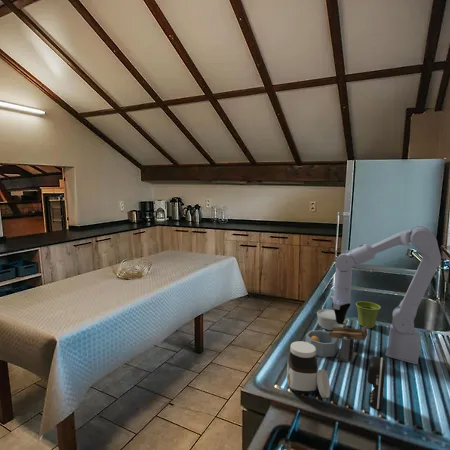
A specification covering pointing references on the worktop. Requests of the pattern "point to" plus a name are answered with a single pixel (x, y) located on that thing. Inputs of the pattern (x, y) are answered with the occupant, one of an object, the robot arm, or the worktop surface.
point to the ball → (315, 338)
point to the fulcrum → (347, 350)
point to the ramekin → (327, 318)
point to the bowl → (323, 343)
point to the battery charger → (376, 381)
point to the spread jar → (306, 370)
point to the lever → (348, 332)
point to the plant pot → (367, 313)
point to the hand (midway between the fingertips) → (339, 322)
